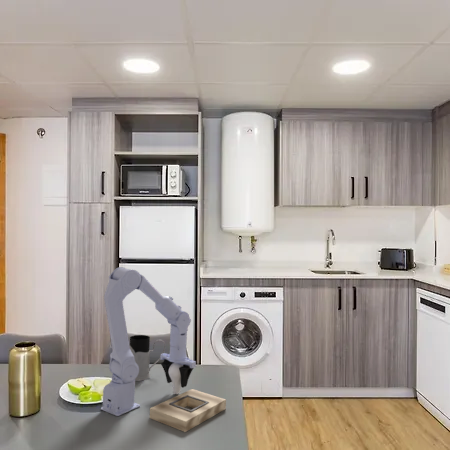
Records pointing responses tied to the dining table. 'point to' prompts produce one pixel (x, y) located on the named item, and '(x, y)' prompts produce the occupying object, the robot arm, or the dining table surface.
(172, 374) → the lightbulb
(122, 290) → the robot arm
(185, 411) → the socket plate
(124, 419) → the dining table surface
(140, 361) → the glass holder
